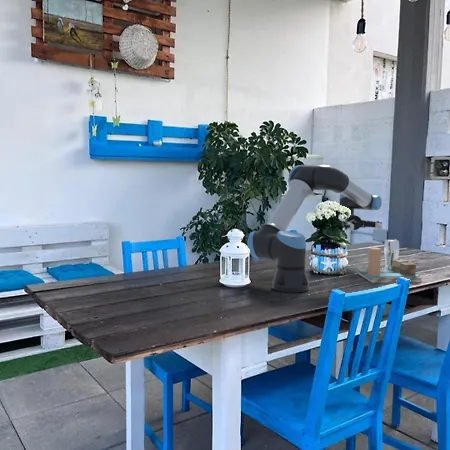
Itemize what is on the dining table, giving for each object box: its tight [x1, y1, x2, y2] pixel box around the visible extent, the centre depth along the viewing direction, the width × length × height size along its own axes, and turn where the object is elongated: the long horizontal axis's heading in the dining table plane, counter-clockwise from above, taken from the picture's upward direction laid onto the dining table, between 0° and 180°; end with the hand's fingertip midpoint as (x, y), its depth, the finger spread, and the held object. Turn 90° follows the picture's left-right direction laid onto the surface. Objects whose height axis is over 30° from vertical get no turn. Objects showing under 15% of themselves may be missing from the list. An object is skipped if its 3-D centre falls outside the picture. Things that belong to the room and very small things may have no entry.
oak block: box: [392, 258, 409, 272], centre depth 220 cm, size 5×5×5 cm
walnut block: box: [400, 262, 417, 276], centre depth 211 cm, size 5×5×5 cm
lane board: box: [357, 268, 422, 284], centre depth 216 cm, size 22×19×2 cm
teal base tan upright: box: [366, 247, 421, 279], centre depth 210 cm, size 22×7×13 cm, turn 93°
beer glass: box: [383, 239, 400, 269], centre depth 231 cm, size 7×7×15 cm
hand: (367, 227), depth 220 cm, fingers open, 13 cm apart
